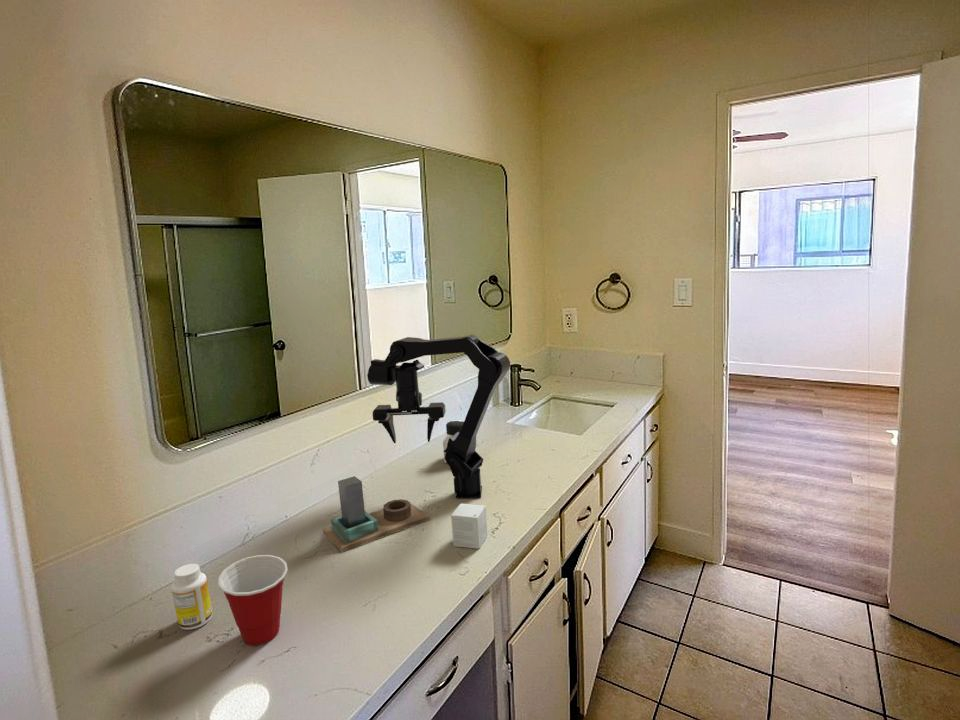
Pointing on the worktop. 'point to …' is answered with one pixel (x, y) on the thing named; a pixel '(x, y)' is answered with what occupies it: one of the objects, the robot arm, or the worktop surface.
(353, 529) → the bit holder
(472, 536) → the product box
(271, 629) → the plastic cup
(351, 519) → the square bit
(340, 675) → the worktop surface
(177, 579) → the supplement bottle
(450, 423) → the medicine bottle
